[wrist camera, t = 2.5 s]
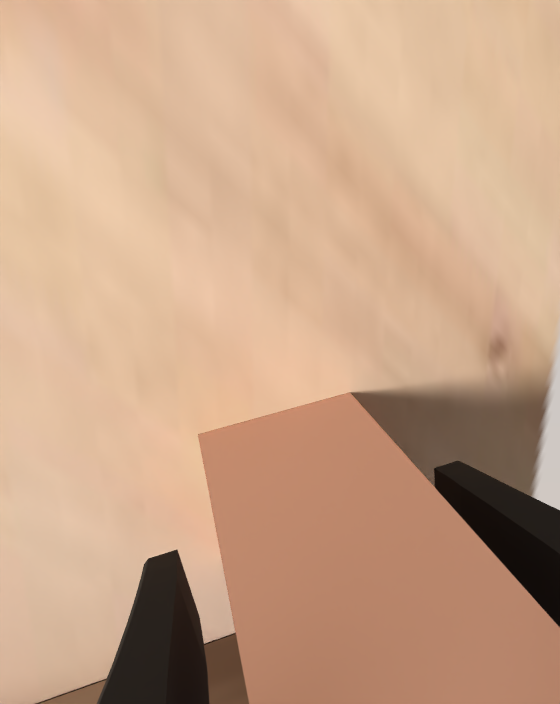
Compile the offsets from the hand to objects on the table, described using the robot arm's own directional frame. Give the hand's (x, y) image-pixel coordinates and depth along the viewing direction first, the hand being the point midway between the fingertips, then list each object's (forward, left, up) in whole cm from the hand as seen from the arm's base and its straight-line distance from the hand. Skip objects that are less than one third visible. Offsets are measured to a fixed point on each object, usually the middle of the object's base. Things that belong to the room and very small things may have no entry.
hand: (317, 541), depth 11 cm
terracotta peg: (0, 0, -2) cm, 2 cm away
